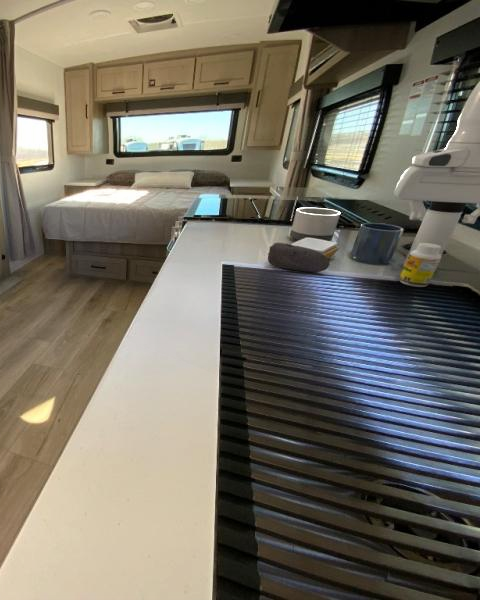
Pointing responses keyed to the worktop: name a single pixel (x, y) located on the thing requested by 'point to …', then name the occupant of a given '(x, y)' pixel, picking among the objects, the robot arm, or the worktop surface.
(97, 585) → the worktop surface
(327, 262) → the perforated stone tool
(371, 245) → the blue cylindrical cup
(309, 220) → the planter
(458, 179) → the robot arm
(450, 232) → the travel mug
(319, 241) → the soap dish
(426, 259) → the supplement bottle
